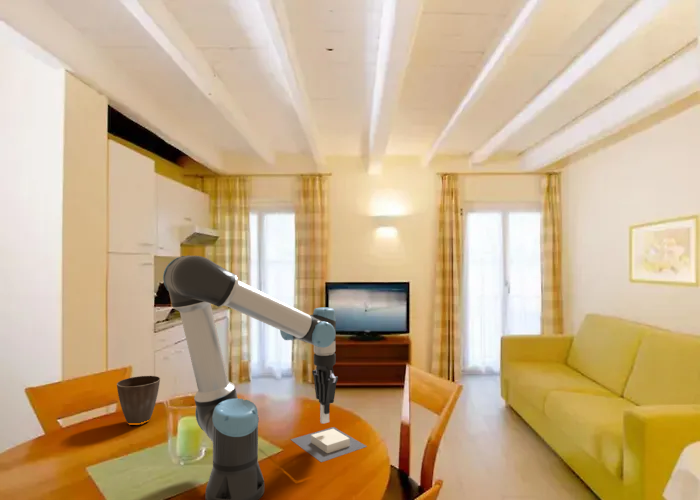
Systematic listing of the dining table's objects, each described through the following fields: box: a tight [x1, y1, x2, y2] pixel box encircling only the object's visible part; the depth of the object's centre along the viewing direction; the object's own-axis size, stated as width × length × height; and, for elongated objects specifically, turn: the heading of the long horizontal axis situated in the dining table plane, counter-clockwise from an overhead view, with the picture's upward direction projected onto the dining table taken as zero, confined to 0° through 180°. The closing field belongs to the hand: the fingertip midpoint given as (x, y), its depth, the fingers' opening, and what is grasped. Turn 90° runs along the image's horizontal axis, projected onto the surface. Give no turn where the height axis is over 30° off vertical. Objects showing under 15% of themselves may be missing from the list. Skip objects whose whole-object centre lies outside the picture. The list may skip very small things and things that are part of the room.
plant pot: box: [116, 375, 161, 424], centre depth 160 cm, size 15×15×16 cm
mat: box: [290, 426, 368, 463], centre depth 140 cm, size 18×20×1 cm
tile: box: [311, 429, 350, 453], centre depth 139 cm, size 9×3×10 cm
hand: (324, 422), depth 142 cm, fingers closed
